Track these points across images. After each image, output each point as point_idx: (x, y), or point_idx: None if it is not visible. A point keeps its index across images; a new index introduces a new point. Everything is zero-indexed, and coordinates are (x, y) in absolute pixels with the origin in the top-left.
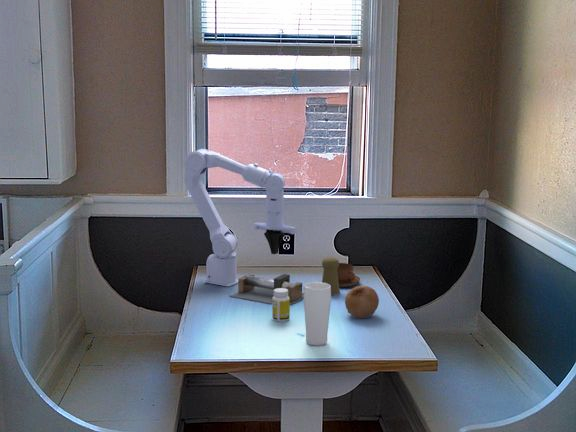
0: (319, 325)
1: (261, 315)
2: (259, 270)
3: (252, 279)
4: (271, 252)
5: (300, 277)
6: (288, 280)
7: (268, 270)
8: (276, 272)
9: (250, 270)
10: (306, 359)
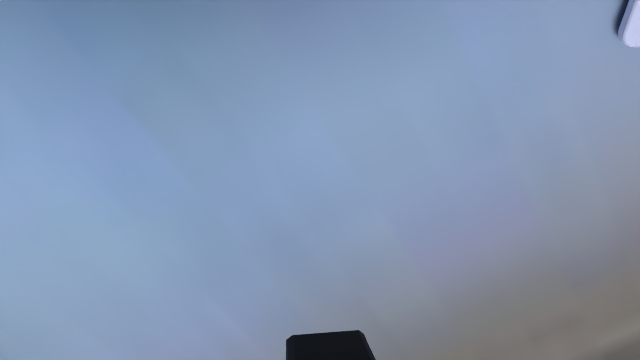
0: None
1: None
2: (560, 325)
3: None
4: (358, 348)
5: (216, 347)
6: None
7: (500, 351)
8: (431, 347)
9: (621, 298)
10: None
